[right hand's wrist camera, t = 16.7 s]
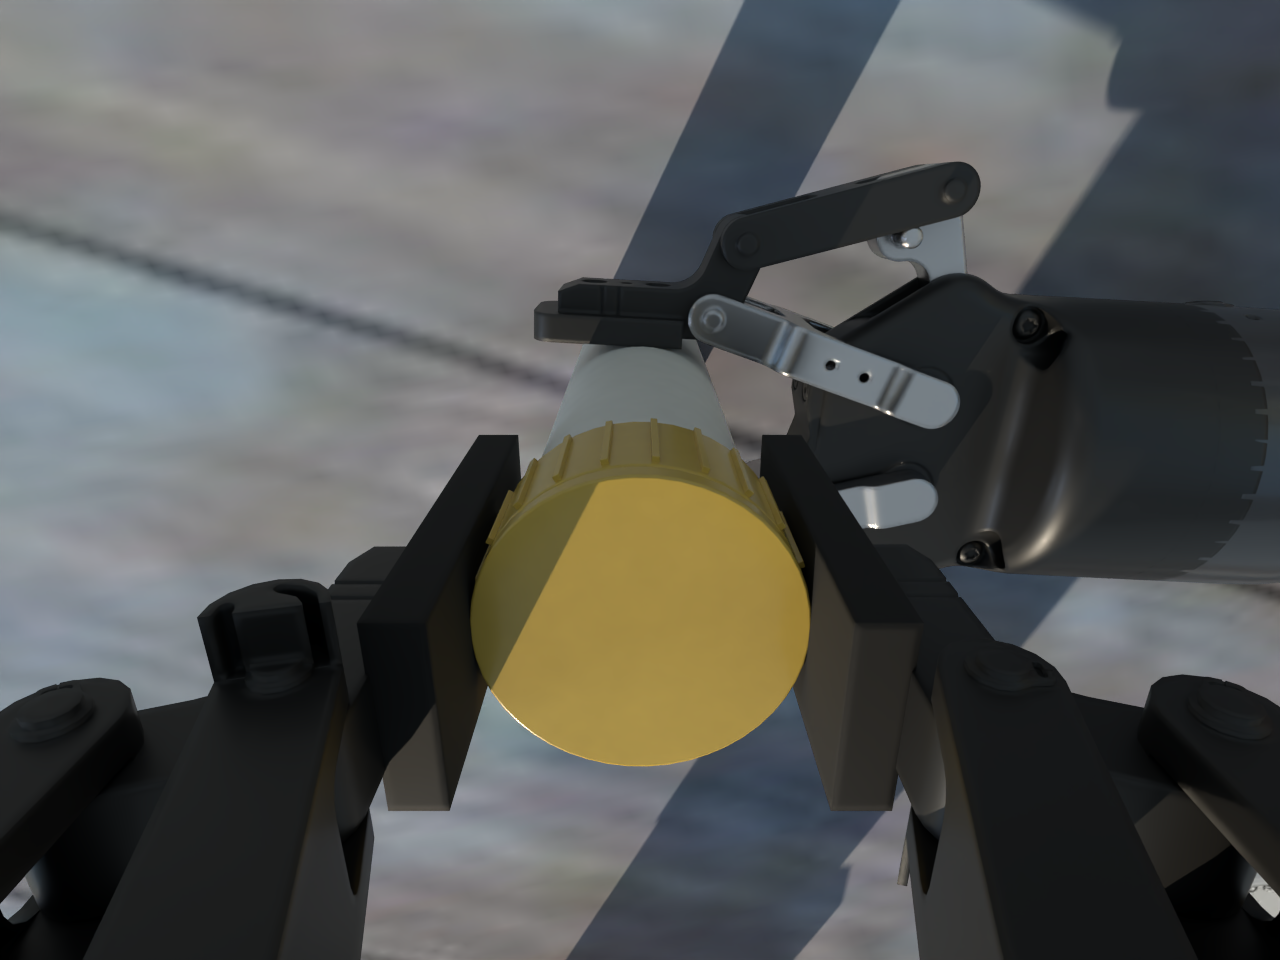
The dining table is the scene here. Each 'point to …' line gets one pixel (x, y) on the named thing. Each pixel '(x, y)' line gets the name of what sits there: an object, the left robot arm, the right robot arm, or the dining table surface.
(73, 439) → the dining table surface
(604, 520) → the lid
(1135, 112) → the dining table surface
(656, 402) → the jar
